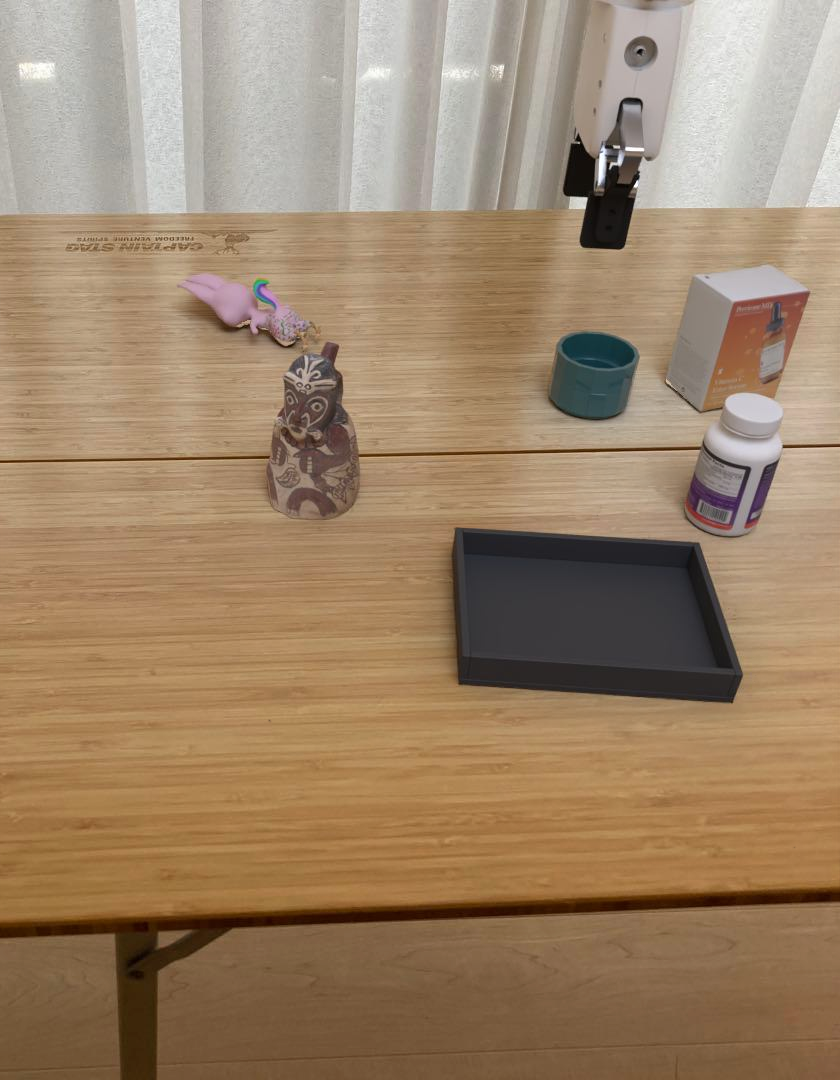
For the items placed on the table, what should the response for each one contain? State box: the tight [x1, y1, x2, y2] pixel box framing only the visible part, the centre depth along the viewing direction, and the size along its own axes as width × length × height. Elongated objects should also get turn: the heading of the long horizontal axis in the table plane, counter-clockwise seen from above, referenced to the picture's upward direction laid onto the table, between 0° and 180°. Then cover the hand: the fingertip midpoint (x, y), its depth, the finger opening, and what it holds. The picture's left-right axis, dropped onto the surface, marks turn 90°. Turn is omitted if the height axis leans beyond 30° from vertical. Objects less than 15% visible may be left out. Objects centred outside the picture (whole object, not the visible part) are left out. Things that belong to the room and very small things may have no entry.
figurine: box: [266, 340, 361, 521], centre depth 82 cm, size 7×7×12 cm
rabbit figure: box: [175, 272, 322, 346], centre depth 104 cm, size 6×6×15 cm
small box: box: [665, 263, 811, 412], centre depth 95 cm, size 8×6×10 cm
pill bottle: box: [684, 393, 785, 537], centre depth 81 cm, size 5×5×10 cm
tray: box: [451, 526, 744, 704], centre depth 74 cm, size 17×13×2 cm
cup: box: [547, 330, 641, 420], centre depth 95 cm, size 7×7×5 cm
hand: (591, 220), depth 84 cm, fingers open, 9 cm apart
